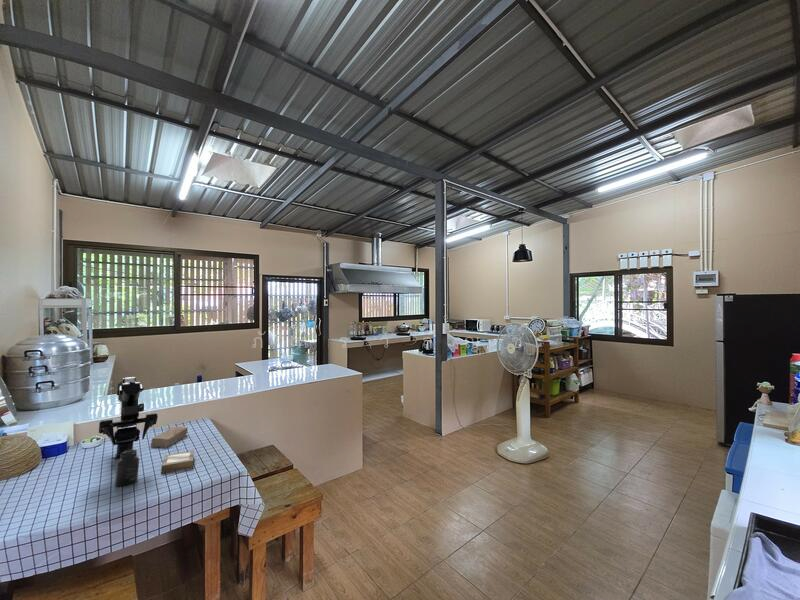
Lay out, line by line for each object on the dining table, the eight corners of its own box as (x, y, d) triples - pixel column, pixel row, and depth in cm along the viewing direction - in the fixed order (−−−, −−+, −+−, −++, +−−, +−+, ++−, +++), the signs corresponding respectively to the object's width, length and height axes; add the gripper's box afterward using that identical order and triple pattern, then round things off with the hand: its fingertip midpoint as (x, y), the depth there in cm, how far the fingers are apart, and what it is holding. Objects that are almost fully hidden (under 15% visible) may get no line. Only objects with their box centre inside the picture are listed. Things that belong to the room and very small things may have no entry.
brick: (167, 447, 156) (167, 438, 156) (149, 447, 155) (150, 437, 156) (187, 435, 172) (188, 426, 172) (171, 435, 172) (172, 426, 172)
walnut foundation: (164, 462, 140) (164, 455, 141) (193, 457, 146) (194, 450, 146) (161, 473, 131) (161, 465, 131) (192, 467, 137) (193, 460, 137)
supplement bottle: (110, 485, 121) (113, 453, 121) (130, 477, 127) (133, 447, 128) (121, 489, 118) (124, 457, 119) (141, 481, 125) (144, 450, 125)
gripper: (101, 400, 128) (98, 437, 119) (158, 394, 140) (159, 426, 132) (100, 415, 133) (96, 451, 124) (155, 408, 146) (156, 439, 137)
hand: (128, 441), depth 129 cm, fingers open, 9 cm apart
